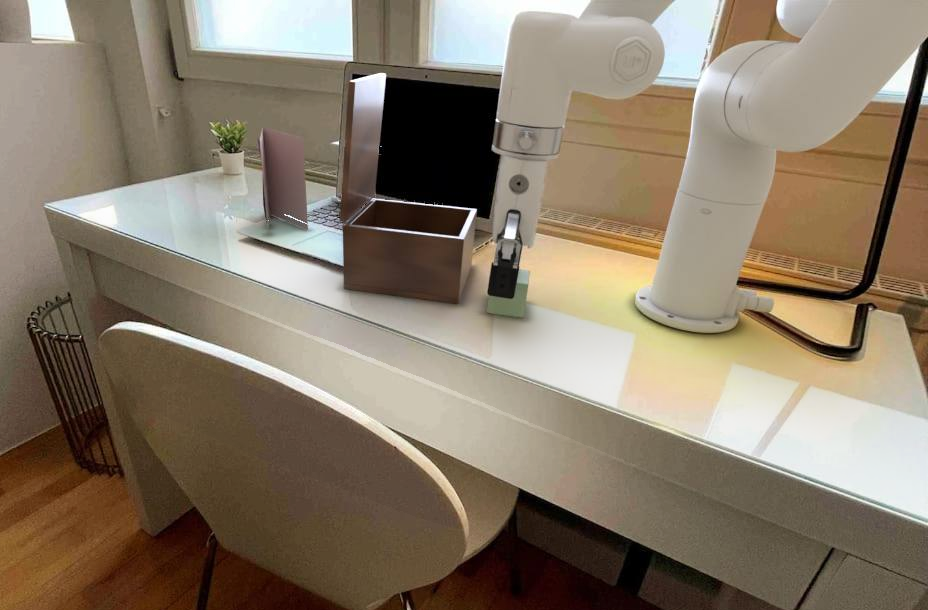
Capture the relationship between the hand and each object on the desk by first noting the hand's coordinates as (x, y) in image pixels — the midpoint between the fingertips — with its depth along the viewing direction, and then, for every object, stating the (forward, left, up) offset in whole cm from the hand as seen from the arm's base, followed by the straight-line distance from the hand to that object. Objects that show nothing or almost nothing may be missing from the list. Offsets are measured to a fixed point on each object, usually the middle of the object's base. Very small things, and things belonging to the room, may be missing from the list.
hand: (503, 280), depth 72 cm
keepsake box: (+13, -6, -4) cm, 15 cm away
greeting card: (+39, -22, -4) cm, 45 cm away
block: (-1, 0, -4) cm, 4 cm away
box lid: (+20, -6, +14) cm, 25 cm away
